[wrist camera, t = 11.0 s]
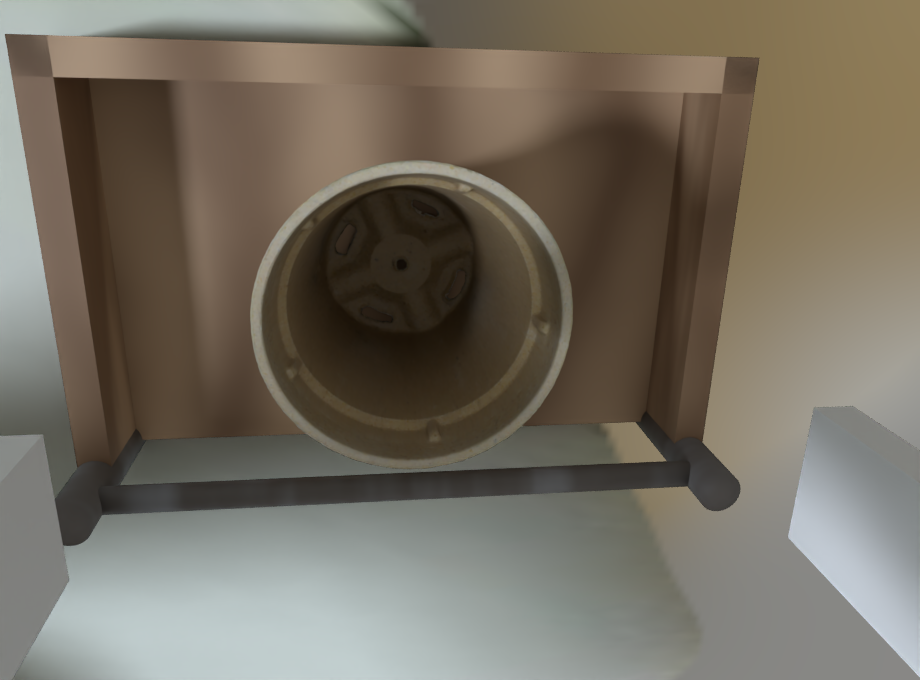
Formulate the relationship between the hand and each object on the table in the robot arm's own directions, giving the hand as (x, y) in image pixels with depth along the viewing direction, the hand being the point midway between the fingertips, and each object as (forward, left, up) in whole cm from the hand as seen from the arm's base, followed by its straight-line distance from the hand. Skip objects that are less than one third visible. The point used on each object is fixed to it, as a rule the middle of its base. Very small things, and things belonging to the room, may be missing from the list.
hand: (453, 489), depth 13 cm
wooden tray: (0, 0, -19) cm, 19 cm away
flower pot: (0, 0, -18) cm, 18 cm away
